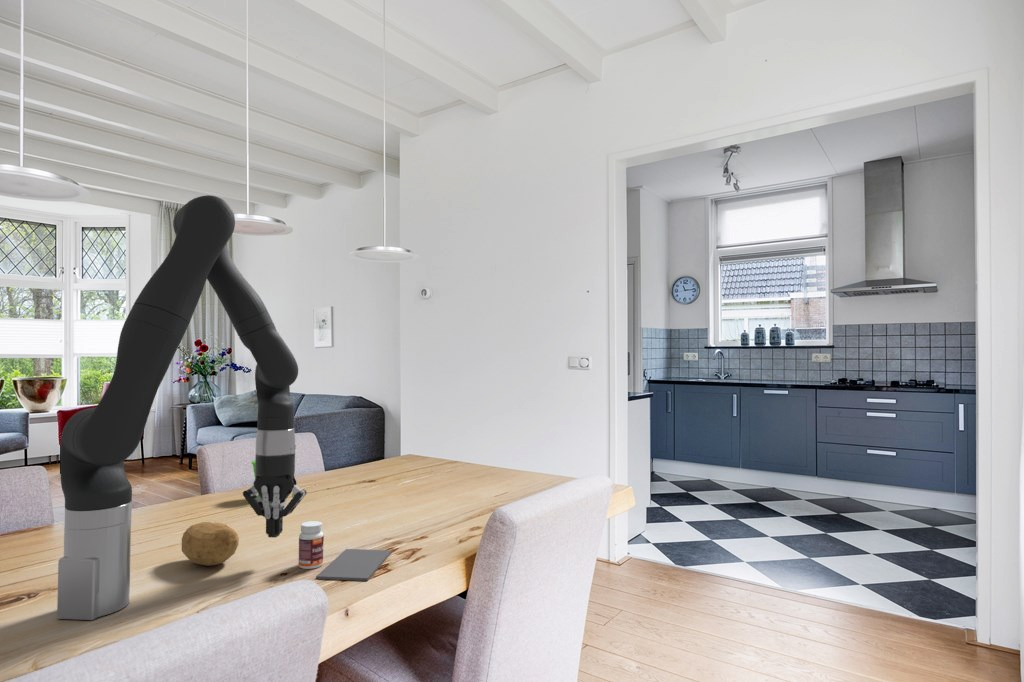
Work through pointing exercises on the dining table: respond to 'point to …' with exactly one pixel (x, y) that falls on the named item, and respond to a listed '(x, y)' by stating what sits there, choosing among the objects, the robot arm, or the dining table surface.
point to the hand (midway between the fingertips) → (274, 536)
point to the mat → (354, 565)
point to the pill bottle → (311, 545)
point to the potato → (209, 543)
